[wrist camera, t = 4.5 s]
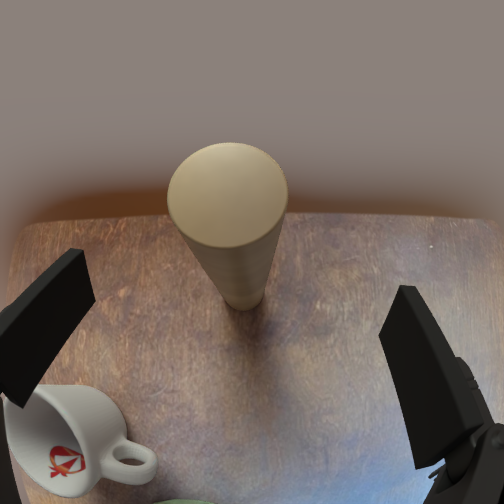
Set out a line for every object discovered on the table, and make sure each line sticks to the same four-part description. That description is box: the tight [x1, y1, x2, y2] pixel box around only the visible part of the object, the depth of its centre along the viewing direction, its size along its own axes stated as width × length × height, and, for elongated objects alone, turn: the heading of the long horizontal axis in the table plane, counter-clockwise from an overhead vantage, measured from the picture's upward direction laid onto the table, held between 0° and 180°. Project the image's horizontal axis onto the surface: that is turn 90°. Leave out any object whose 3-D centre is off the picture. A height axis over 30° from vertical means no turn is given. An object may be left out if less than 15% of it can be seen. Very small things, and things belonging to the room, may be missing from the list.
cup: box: [3, 384, 158, 498], centre depth 14 cm, size 11×8×8 cm
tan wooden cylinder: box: [167, 143, 289, 311], centre depth 14 cm, size 3×3×15 cm
